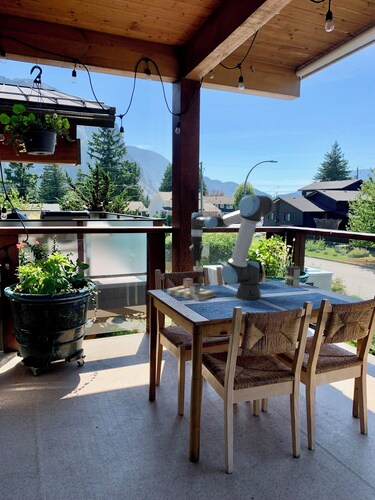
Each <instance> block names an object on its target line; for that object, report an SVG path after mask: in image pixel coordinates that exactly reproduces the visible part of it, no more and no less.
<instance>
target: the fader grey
mask: <svg viewBox="0 0 375 500" xmlns="http://www.w3.org/2000/svg"><path fill="white" fill-rule="evenodd" d="M189 286H190V293H193V294H197V293H200V288H201V284H200V283H196V282H195V283H194V282H193V284H190V285H189Z"/></svg>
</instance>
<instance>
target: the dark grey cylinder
mask: <svg viewBox="0 0 375 500" xmlns="http://www.w3.org/2000/svg"><path fill="white" fill-rule="evenodd" d="M246 261H253V262H258V263H259V283H260V282H261V281H262V280H263V277H264V275H265V272H264V270H263V265H262V263H261V262H259V261H258V260H253V259H252V258H249V259H246Z"/></svg>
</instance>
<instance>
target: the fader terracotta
mask: <svg viewBox="0 0 375 500" xmlns="http://www.w3.org/2000/svg"><path fill="white" fill-rule="evenodd" d="M182 281H183V283H182V286H183V287H187V288H189V287H190V286H189V285H190V284H194V278H190V277H186V278H182Z"/></svg>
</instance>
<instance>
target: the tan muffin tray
mask: <svg viewBox="0 0 375 500" xmlns="http://www.w3.org/2000/svg"><path fill="white" fill-rule="evenodd" d="M166 294H167V295H169V296H170V295H171V296H174V297H180V298H185V299H189V300H193V301H198V302H200V301H203V300H206V299H207V300H208V299H210V298H213V297H216V291H215V290H212V289H211V290H210V289H205V288H201V287H200V293H197V294H193V293H190V287H189V288H187V287H183V285H179V286H175V287H170V288H167V289H166Z"/></svg>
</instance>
